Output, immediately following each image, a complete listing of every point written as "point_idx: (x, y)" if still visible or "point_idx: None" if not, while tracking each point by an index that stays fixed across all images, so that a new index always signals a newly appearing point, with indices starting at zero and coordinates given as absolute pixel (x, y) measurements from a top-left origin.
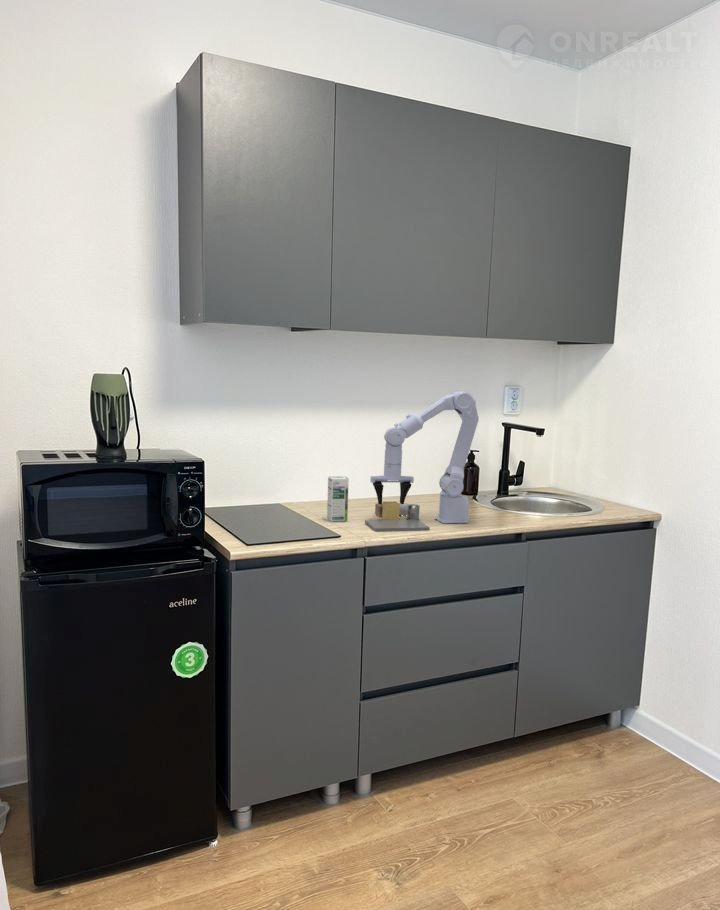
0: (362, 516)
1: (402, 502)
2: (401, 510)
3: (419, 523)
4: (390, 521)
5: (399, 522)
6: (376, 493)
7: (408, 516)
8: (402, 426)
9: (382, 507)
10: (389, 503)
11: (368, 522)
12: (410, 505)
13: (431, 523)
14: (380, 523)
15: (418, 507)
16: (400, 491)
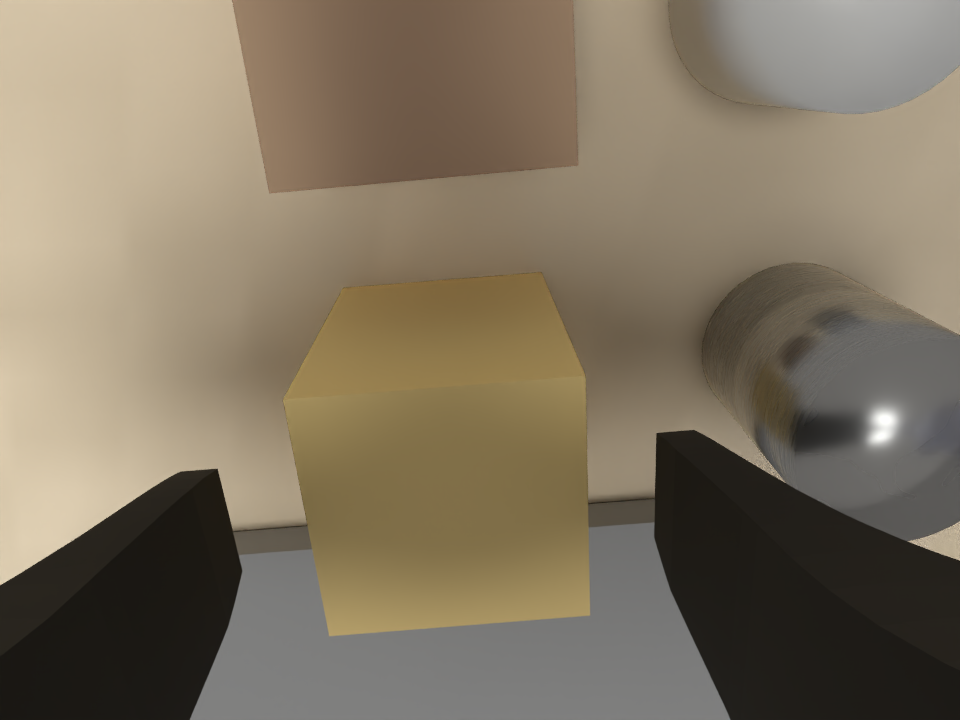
0: (32, 91)
1: (673, 571)
2: (740, 87)
3: (720, 702)
4: None
5: (495, 665)
6: (6, 596)
7: (725, 398)
8: None
9: (336, 181)
10: (397, 574)
11: None
12: (843, 454)
13: (930, 536)
14: (252, 709)
15: (945, 510)
16: (776, 549)
